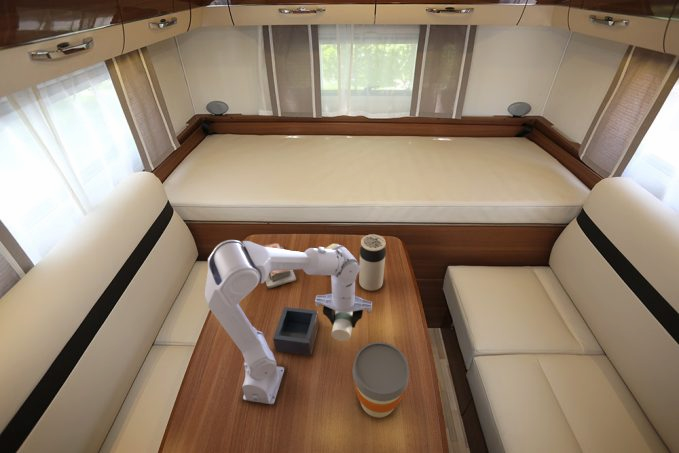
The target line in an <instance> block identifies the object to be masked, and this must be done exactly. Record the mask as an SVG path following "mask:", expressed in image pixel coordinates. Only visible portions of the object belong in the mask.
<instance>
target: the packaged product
mask: <svg viewBox="0 0 679 453" xmlns="http://www.w3.org/2000/svg"><path fill="white" fill-rule="evenodd" d="M263 246H264V247H269V248H276V249H283V250H285V249H284V246H280V244H279V243H277V242H273V243H270V244H265V245H263ZM295 281H297V277H296V274H295V272H294V270H276V271H271V272H270V273H269V275H268V276H267V278H266V280H265V281H264V282H265V284H266V287H267V288H268V289H272V288H275V287H278V286H282V285H285V284H288V283H291V282H295Z"/></svg>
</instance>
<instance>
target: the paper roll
mask: <svg viewBox="0 0 679 453" xmlns="http://www.w3.org/2000/svg"><path fill="white" fill-rule="evenodd" d="M352 315H353V311H352V312H346V313H341V312H338V311H335V320H334V325H332V330H331V337H332V338H333V339H335V340H336V341H339V342H346V341H349V340H350V339H351V336H352V332H353V327H352V323H353V319H352Z"/></svg>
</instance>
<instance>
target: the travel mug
mask: <svg viewBox="0 0 679 453" xmlns="http://www.w3.org/2000/svg"><path fill="white" fill-rule="evenodd" d="M360 245H361V246H360V247H359V265H360V266H361V268H360V271H359V273H358V276H359V277H358V278H359V279H358V283H359V285H360V287H361V288H362V289H363V290H366V291H372V292H373V291H377V290H379V289H380V288H382V286H383V284H384V273H385V264H386V251H387V250H386V245H387V244H386V239H385V238H384V237H383V236H381V235H379V234H373V233H372V234H371V233H370V234H368V235H364V236H363V237H362V238H361V240H360Z"/></svg>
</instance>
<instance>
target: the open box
mask: <svg viewBox="0 0 679 453" xmlns="http://www.w3.org/2000/svg"><path fill="white" fill-rule="evenodd" d="M278 320H279V321H278V324H277V326H276V329H275V332H274V334H273V338H272V340H273V344H274V348H275V352H282V353H289V354H295V355H296V354H297V355H303V356H310V357H311V356H312V352H313V349H314V345H315V340H316V337H317V332H318V328H319V324H320V321H319V312H318V310H315V309H307V308H306V309H305V308H298V307H289V306H283V310H282V313H281V315H280V318H279V319H278Z"/></svg>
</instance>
